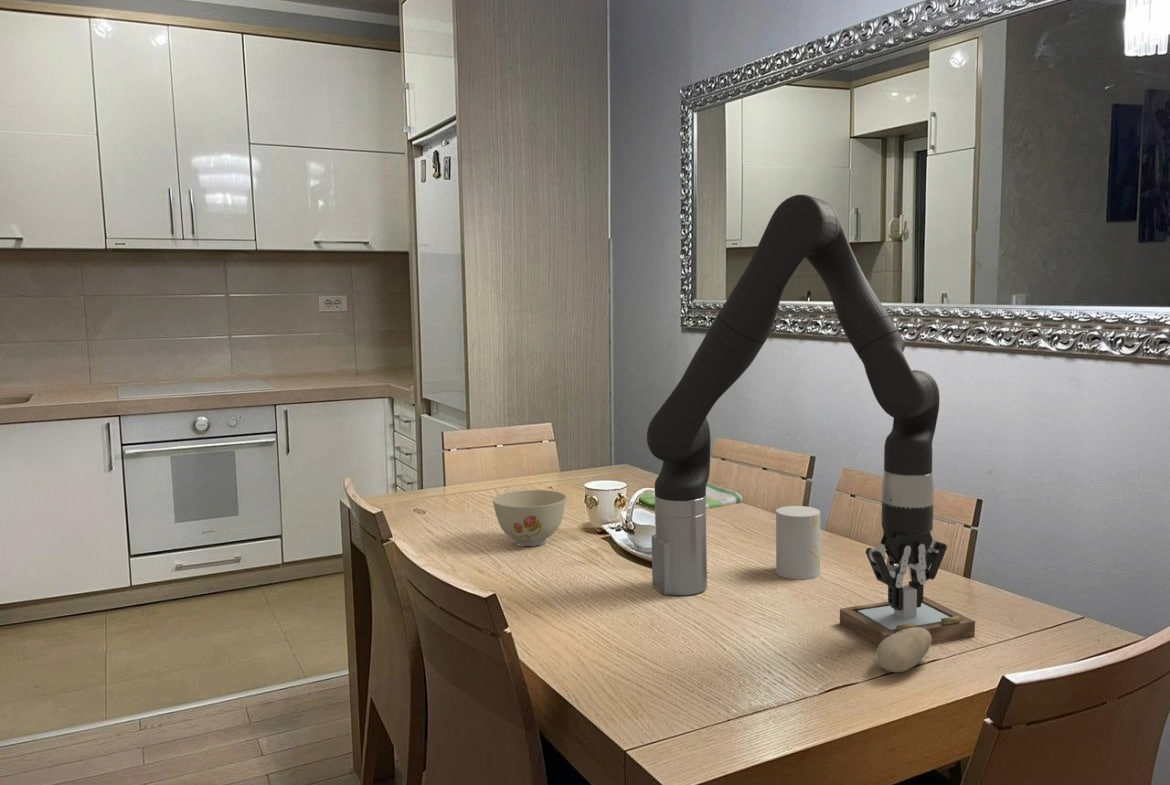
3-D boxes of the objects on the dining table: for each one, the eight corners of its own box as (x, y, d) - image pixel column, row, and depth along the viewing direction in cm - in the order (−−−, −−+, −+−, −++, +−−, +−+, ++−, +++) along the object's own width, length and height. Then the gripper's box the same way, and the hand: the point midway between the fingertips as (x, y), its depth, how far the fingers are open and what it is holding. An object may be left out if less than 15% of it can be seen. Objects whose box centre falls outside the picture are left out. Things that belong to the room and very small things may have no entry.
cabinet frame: (885, 651, 132) (885, 629, 131) (839, 622, 143) (839, 602, 143) (974, 636, 136) (975, 615, 136) (923, 610, 148) (924, 590, 147)
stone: (864, 657, 123) (886, 608, 133) (882, 695, 124) (903, 643, 133) (903, 654, 120) (924, 603, 129) (922, 693, 121) (941, 640, 130)
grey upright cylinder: (821, 580, 164) (821, 517, 163) (776, 578, 166) (776, 515, 164) (818, 566, 172) (819, 506, 171) (776, 565, 174) (775, 505, 172)
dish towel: (744, 504, 225) (744, 491, 225) (668, 517, 214) (668, 503, 214) (704, 492, 240) (704, 479, 240) (631, 503, 229) (631, 490, 229)
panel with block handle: (890, 638, 134) (890, 601, 133) (857, 619, 142) (857, 584, 141) (954, 627, 137) (954, 591, 137) (918, 609, 145) (918, 575, 145)
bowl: (481, 550, 190) (479, 504, 188) (514, 530, 204) (513, 488, 203) (549, 556, 183) (547, 509, 182) (578, 536, 198) (577, 492, 197)
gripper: (883, 509, 132) (881, 621, 134) (961, 500, 136) (959, 609, 138) (854, 498, 139) (853, 605, 141) (929, 490, 143) (927, 594, 145)
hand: (905, 606), depth 139 cm, fingers open, 3 cm apart
